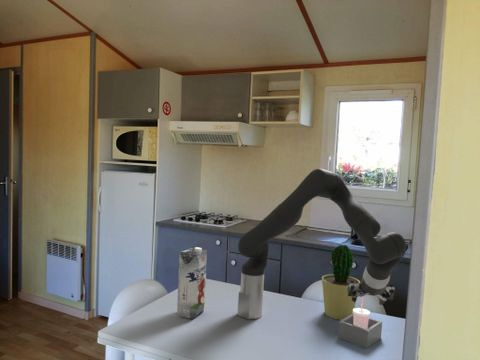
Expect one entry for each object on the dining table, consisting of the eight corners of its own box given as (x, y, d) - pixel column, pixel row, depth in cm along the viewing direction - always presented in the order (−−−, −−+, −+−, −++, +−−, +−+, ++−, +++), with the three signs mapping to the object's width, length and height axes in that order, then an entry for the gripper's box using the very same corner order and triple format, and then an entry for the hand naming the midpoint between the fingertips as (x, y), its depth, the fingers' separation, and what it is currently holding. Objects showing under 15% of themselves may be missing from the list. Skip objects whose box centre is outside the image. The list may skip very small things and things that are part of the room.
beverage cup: (366, 340, 139) (368, 301, 139) (348, 335, 143) (351, 297, 142) (370, 334, 145) (373, 297, 144) (353, 330, 148) (356, 293, 147)
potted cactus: (353, 309, 172) (358, 241, 171) (361, 323, 157) (366, 249, 155) (317, 306, 174) (322, 238, 172) (321, 320, 158) (326, 246, 157)
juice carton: (173, 316, 154) (177, 248, 153) (187, 307, 164) (190, 243, 162) (194, 321, 151) (197, 251, 149) (206, 311, 160) (209, 246, 159)
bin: (366, 348, 136) (368, 331, 135) (337, 337, 143) (339, 321, 143) (381, 337, 145) (382, 321, 144) (353, 328, 152) (354, 312, 152)
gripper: (398, 268, 124) (387, 293, 135) (351, 264, 126) (345, 288, 138) (401, 290, 119) (390, 313, 130) (352, 286, 121) (346, 309, 133)
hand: (367, 301), depth 134 cm, fingers open, 8 cm apart
